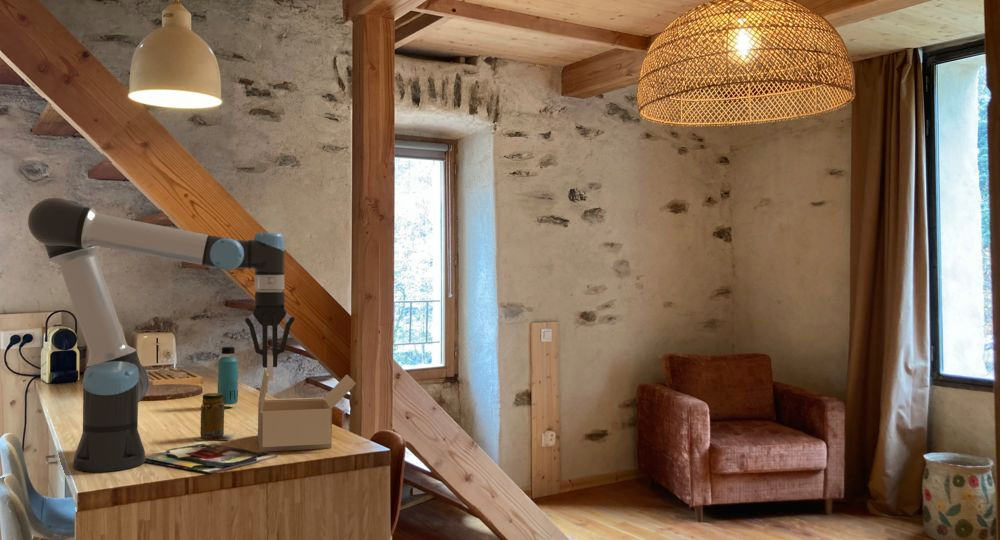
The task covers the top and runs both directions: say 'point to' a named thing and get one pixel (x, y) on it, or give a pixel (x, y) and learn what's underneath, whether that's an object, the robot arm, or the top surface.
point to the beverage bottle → (228, 377)
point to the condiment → (212, 418)
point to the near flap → (296, 427)
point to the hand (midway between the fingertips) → (269, 379)
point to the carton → (290, 406)
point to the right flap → (339, 391)
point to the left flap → (263, 389)
